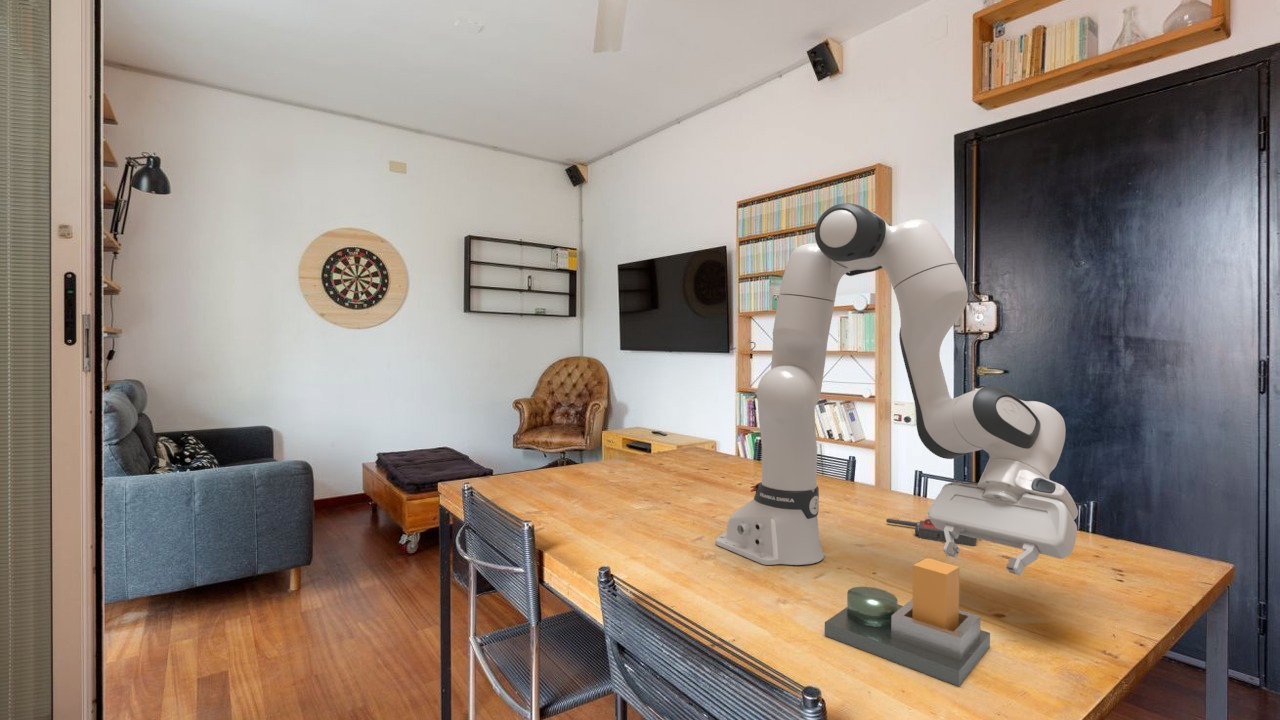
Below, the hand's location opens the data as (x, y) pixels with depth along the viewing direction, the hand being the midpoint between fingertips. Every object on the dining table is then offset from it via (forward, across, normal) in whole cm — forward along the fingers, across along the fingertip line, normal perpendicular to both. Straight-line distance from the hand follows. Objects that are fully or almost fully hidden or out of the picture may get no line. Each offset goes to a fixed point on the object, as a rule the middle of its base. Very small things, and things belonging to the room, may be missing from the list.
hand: (979, 562), depth 88 cm
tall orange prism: (+14, 0, -4) cm, 15 cm away
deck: (+16, -4, -3) cm, 17 cm away
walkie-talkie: (-19, -30, +33) cm, 49 cm away
